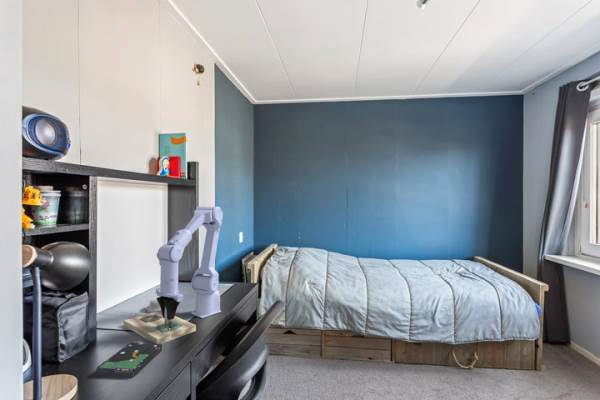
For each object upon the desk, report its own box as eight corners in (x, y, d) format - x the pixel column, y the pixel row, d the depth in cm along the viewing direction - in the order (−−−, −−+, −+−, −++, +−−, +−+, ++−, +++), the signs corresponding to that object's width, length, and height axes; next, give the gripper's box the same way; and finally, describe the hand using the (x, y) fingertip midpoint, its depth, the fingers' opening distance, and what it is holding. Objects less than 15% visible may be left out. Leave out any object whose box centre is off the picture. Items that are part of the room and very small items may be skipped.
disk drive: (129, 351, 94) (95, 378, 79) (129, 342, 94) (95, 367, 79) (162, 352, 93) (133, 379, 78) (162, 343, 93) (134, 368, 79)
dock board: (161, 315, 122) (161, 309, 122) (195, 330, 108) (196, 324, 108) (124, 325, 111) (124, 319, 111) (157, 345, 97) (157, 337, 97)
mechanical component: (161, 304, 136) (141, 311, 127) (161, 294, 136) (141, 300, 127) (177, 308, 131) (157, 315, 122) (177, 297, 131) (157, 304, 123)
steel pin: (169, 324, 108) (170, 302, 108) (173, 326, 106) (174, 304, 106) (162, 326, 106) (162, 304, 106) (166, 328, 104) (167, 306, 104)
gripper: (147, 277, 107) (146, 316, 107) (169, 284, 98) (168, 326, 98) (166, 274, 113) (165, 310, 113) (189, 280, 104) (188, 320, 104)
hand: (168, 318), depth 106 cm, fingers closed on steel pin, 2 cm apart
